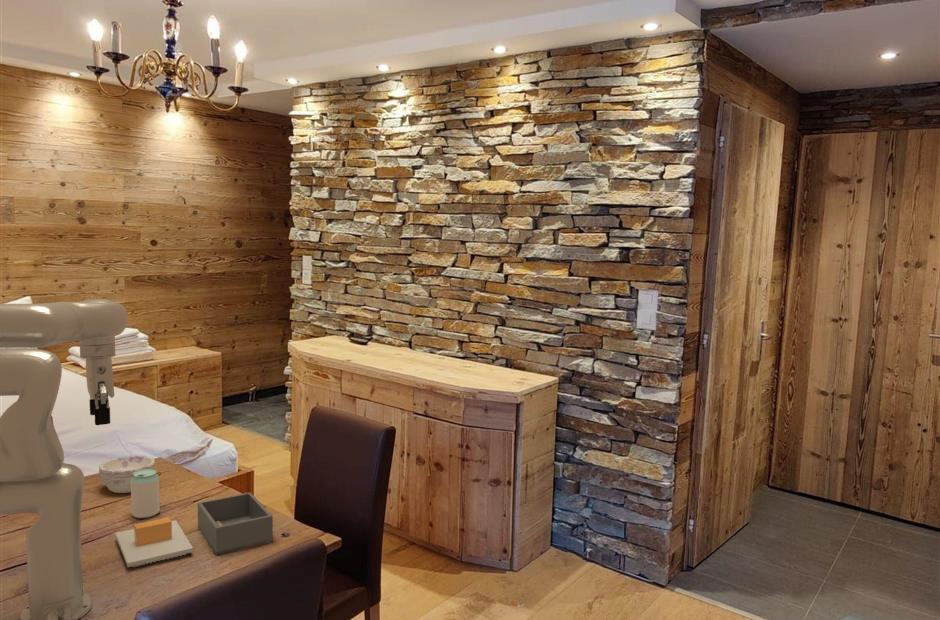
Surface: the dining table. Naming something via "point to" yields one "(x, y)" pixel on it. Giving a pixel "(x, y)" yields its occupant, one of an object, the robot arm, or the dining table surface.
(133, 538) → the lid
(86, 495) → the dining table surface
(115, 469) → the paper bowls
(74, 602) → the robot arm
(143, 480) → the can
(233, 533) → the parts tub
